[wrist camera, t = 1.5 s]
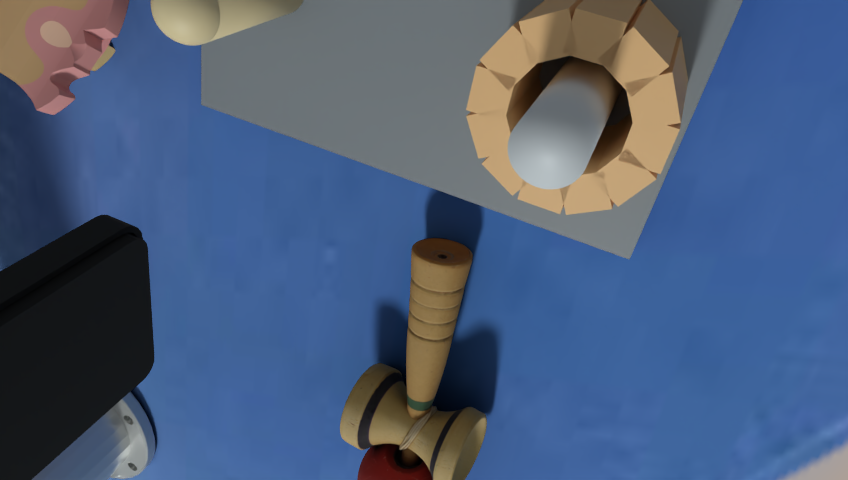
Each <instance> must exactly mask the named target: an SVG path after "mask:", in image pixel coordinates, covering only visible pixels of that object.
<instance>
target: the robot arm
mask: <svg viewBox="0 0 848 480" xmlns="http://www.w3.org/2000/svg"><path fill="white" fill-rule="evenodd" d="M153 363H154V344H153V327H152V311H151V295H150V278H149V262H148V247H147V243H146V242H145V241H144V240H143V238H142V233H141V231H140V230H139V229H138V228H137V227H134V226H132V225H130V224H128V223H125V222H123V221H120V220H118V219H116V218H113V217H111V216H109V215H100V216H97V217H95V218H93V219H91V220H90V221H88V222H86V223H84V224H83V225H81V226H79V227H77V228H76V229H74V230H72V231H70V232H69V233H67V234H65V235H63V236H62V237H60V238H58V239H56V240H55V241H53V242H51V243H49V244H48V245H46V246H44V247H42V248H41V249H39V250H37V251H35V252H34V253H32V254H30V255H28V256H27V257H25V258H23V259H21V260H20V261H18V262H16V263H14V264H13V265H11V266H9V267H7V268H6V269H4V270H2V271H0V480H108V479H109V478H110V477H111V478H121V479H125V478H131V477H134V476H136V475H138V474H140V473H141V472H142V471H143V470H144V469H145V468H146V467H147V466H148V465H149V464H150V462H151V461H152V459H153V457H154V453H155V437H154V433H153V430H152V426H151V424H150V422H149V419H148V417H147V415H146V413H145V411H144V410H143V408H142V407H141V405H140V403H139V402H138V400H137V399H136V398H135V397H134V395H133V394H132V393H131V392H130V391H131V390H133V389H134V388H135V387H136V386H137V385H138V384H139V383H140V382H142V381H143V380H144V379H145V378H146V376H147V375H148V374H149V372H150V370H151V368H152V366H153Z"/></svg>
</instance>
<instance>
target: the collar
mask: <svg viewBox="0 0 848 480" xmlns="http://www.w3.org/2000/svg"><path fill="white" fill-rule="evenodd" d="M641 2H642V0H544V1H543V2H542V3H541V4H539V5H538V6H537V7H535V8H534V9H533V10H532V11H530V12H529V13H528V14H527V15H525V16H524V17H523V18H521V19H520V20H519V21H518V22H516V23H515V24H514V25H513V26H512V27H511V28H510V29H509V30H508V31H507V32H506V33H505V34H504V35H503V36H502V37H501V38H500V39H499V40H498V41H497V42H496V43H495V44H494V45H493V46H492V47H491V48H490V50H489V51H488V52H487V53H486V54H485V55H484V56H483V57H482V58H481V59H480V61H481V62H480V63H479V64H478V65H476V69H475V74H474V78H473V82H472V86H471V91H470V95H469V99H468V103H467V108H466V110H467V111H471V112H470V113H469V114H468V115H467V116H466V117H467V121H468V124H469V128H470V131H471V135H472V138H473V141H474V145H475V148H476V152H477V155H478V159H480V158H485V157H487V158H486V159H485V160H484V161H483V163H482V165H483V166H484V167H485V168H486V169H487V170H488V171H489V172H490V173H491V174H492V175H493V176H494V177H495V178H496V179H497V180H498V182H499V183H500V184H501V185H502V186H503V187H504V188H505V189H506V190H507V191H508V192H509V193H510V194H511V195H512V196H513V195H514V194H515V193H516V192H518V191H519V190H520V192H519V195H518V200H521V201H524V202H527V203H530V204H532V205H535V206H538V207H541V208H544V209H546V210H549V211H552V212H555V213H558V214H560V213H561V211H562V209H563V207H564V208H565V212H566V215H570V214H578V213H586V212H594V211H602V210H609V209H612V208H613V205H614V203H615V204H616V205H617V206H618V207H619V206H620V205H621V204H623V203H624V202H625V201H627V200H628V199H630V198H631V197H632V196H634V195H635V194H637V193H638V192H639V191H641V190H642V189H644V188H645V187H646V186H648V185H649V184H651V183H652V182H653V181H655V180H656V179H657V174H661V172H662V170H663V167H664V165H665V163H666V160H667V158H668V156H669V154H670V151H671V149H672V147H673V144H674V142H675V140H676V137H677V135H678V133H679V130H680V126H681V120H682V114H683V108H684V102H685V96H686V90H687V83H688V76H687V70H686V63H685V57H684V51H683V44H682V38H681V37H678V38H677V36H678V32H679V31H678V30H677V29H676V28H675V27H674V26H673V24H672V23H671V22H670V21H669V20H668V19H667V18H666V17H665V16H664V15H663V13H662V12H661V11H660V10H659V9H658V8H657V7H656V6H655V5H654V3H653V2H652V1H651V0H647V1H646V2H645V3H643V4H642V5H641ZM640 5H641V6H640ZM566 56H573V57H577V58H580V59H583V60H587V61H590V62H593V63H597V64H600V65H603V66H604V67H605V68H606V69H607V70H608V71H609V72H610V73H611V75H612V76H613V77H614V78H615V79H616V80H617V81H618V82H619V83H620V84H621V85H622V86H623V88H624V89H625V90H626V91H627V96H628V101H629V107H630V112H631V113H630V114H628V115H627V116H626V117H625V118H624V119H622V120H621V121H620V122H619V123H617V124H616V125H612V126H606V127H604V129H603V131H602V133H601V136H600V138H599V140H598V142H597V145H596V147H595V149H594V151H593V153H592V156H591V158H590V160H589V162H588V164H587V167H586V169H585V171H584V172H583V174H582V175H581V176H580V177H579V178H578V179H577V180H576V181H575V182H573V183H572V184H570V185H568V186H566V187H563V188H559V189H542V188H538V187H535V186H533V185H531V184H529V183H527V182H526V181H524V180H523V179H522V178H521V177H520V176H519V175H518V174H517V173H516V172H515V170H514V169H513V167H512V165H511V163H510V160H509V156H508V141H509V137H510V134H511V132H512V130H513V129H514V127H515V126H516V125H517V123H518V122H519V121H520V119H521V118H522V117H523V116H524V114H525V113H526V112H527V111H528V109H529V108H530V107H531V106H532V104H533V103H534V102H535V100H536V99H537V98H538V97H539V95H540V94H541V93H542V92H543V90H542V86H541V82H540V78H539V75H540V72H541V69H542V65H543V62H545V61H549V60H553V59H557V58H562V57H566Z"/></svg>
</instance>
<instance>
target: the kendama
mask: <svg viewBox="0 0 848 480" xmlns="http://www.w3.org/2000/svg"><path fill="white" fill-rule="evenodd" d="M472 258H473V254H472V252H471V251H470V250H469V248H467V247H466V246H464V245H463V244H461V243H458V242H455V241H451V240H447V239H442V238H429V239H424V240H420V241H418V242H416V243H415V244H414V245H413V247H412V254H411V276H412V277H411V286H410V303H409V317H408V331H407V348H406V382H407V388H406V386H405V383H404V381H403V378H402V374H401V372H400V371H399V370H397V369H395V368H392V367H390V366H387V365H385V364H382V363H378V364H375V365H373V366H371V367H370V368H369V369H368V370H366V371H365V372H364V373H363V375H362V376H361V377H360V378H359V380H358V381H357V383H356V384H355V386H354V387H353V389H352V391H351V393H350V395H349V397H348V399H347V401H346V404H345V407H344V410H343V413H342V417H341V423H340V433H341V436H342V438H343V439H344V441H346V442H348V443H349V444H351V445H353V446H355V447H356V448H358V449H361V450H364V449H367V448H369V447H370V449H369V450H368V451H367V453H366V454H365V456H364V458H363V460H362V462H361V465H360V468H359V472H358V480H465V478H466V477H467V475H468V473H469V472H470V470H471V468H472V466H473V464H474V462H475V460H476V458H477V456H478V453H479V451H480V448H481V445H482V442H483V439H484V436H485V432H486V425H487V419H486V415H485V414H484V413H482V412H480V411H478V410H476V409H475V408H473V407H467V408H463V409H460V410H456V411H450V412H444V411H438V410H437V408H436V406H432V403H433V401H434V398H435V395H436V393H437V390H438V387H439V384H440V381H441V378H442V375H443V372H444V368H445V365H446V361H447V358H448V354H449V351H450V347H451V342H452V338H453V332H454V329H455V325H456V321H457V316H458V313H459V309H460V304H461V300H462V296H463V292H464V287H465V284H466V281H467V277H468V274H469V270H470V267H471V263H472Z"/></svg>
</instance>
